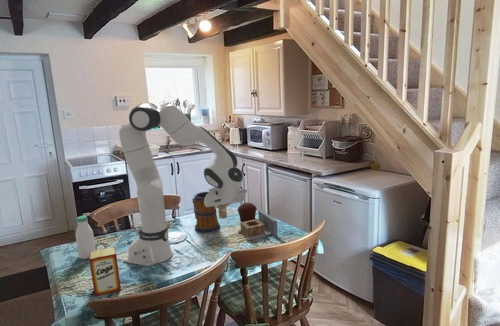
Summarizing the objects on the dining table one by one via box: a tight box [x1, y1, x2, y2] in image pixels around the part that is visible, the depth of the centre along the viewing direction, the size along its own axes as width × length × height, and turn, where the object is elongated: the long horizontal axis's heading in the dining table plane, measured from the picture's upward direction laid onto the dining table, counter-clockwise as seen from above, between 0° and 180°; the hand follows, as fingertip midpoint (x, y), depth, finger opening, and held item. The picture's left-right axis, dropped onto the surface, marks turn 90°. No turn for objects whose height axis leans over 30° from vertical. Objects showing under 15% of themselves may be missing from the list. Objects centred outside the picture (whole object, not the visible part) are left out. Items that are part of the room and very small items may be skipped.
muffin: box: [236, 202, 257, 222], centre depth 201 cm, size 12×11×10 cm
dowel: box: [218, 204, 228, 220], centre depth 171 cm, size 4×4×10 cm
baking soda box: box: [88, 246, 122, 297], centre depth 135 cm, size 10×6×16 cm
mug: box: [192, 191, 221, 235], centre depth 192 cm, size 19×14×20 cm
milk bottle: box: [75, 215, 97, 260], centre depth 163 cm, size 8×8×20 cm
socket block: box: [240, 218, 266, 239], centre depth 181 cm, size 10×9×6 cm
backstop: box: [237, 209, 278, 241], centre depth 181 cm, size 16×18×9 cm
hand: (221, 205), depth 172 cm, fingers closed on dowel, 4 cm apart
